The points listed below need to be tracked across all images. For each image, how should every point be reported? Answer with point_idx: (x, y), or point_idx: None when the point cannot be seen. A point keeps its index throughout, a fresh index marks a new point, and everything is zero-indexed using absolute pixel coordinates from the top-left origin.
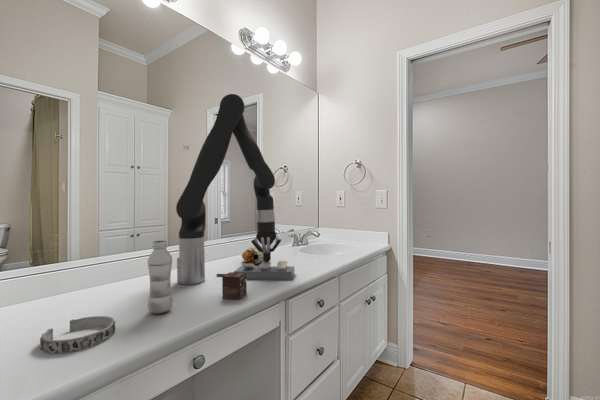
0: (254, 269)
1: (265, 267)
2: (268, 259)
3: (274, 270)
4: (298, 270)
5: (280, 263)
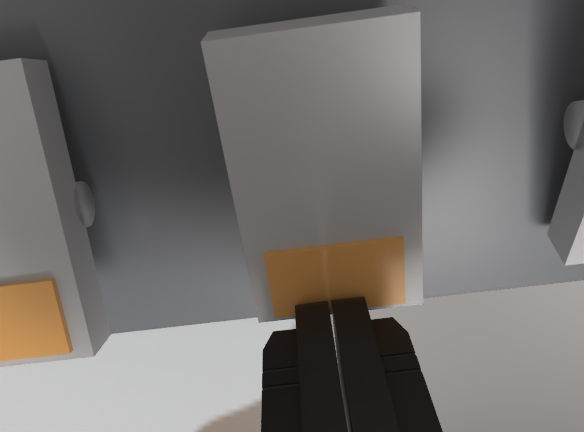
0: (509, 74)
1: (262, 29)
2: (297, 344)
3: (94, 58)
4: (21, 416)
5: (14, 253)
